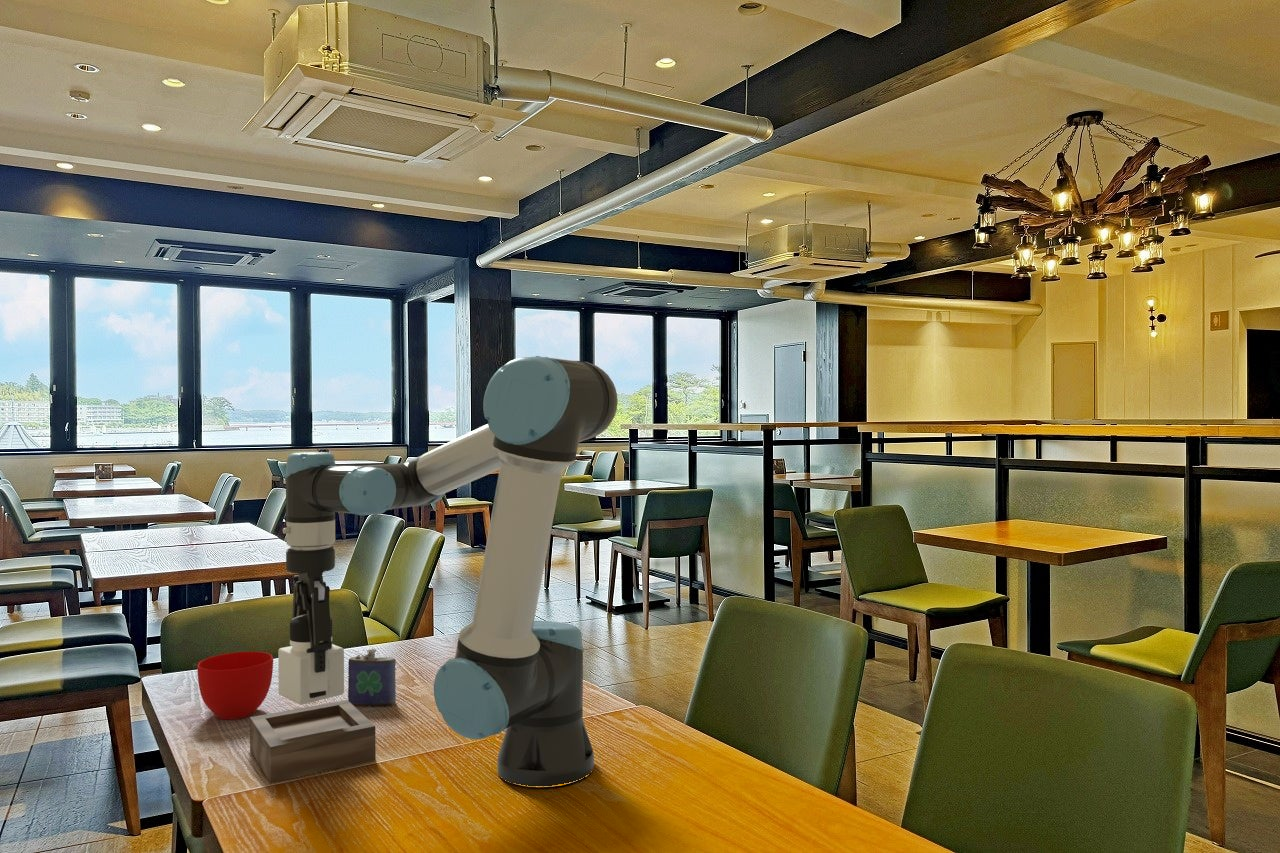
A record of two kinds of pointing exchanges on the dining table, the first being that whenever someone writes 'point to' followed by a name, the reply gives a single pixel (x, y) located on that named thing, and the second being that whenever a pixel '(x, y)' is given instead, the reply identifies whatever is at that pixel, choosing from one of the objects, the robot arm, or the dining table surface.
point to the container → (307, 666)
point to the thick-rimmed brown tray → (311, 740)
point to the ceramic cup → (235, 682)
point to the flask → (371, 680)
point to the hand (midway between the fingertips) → (311, 683)
